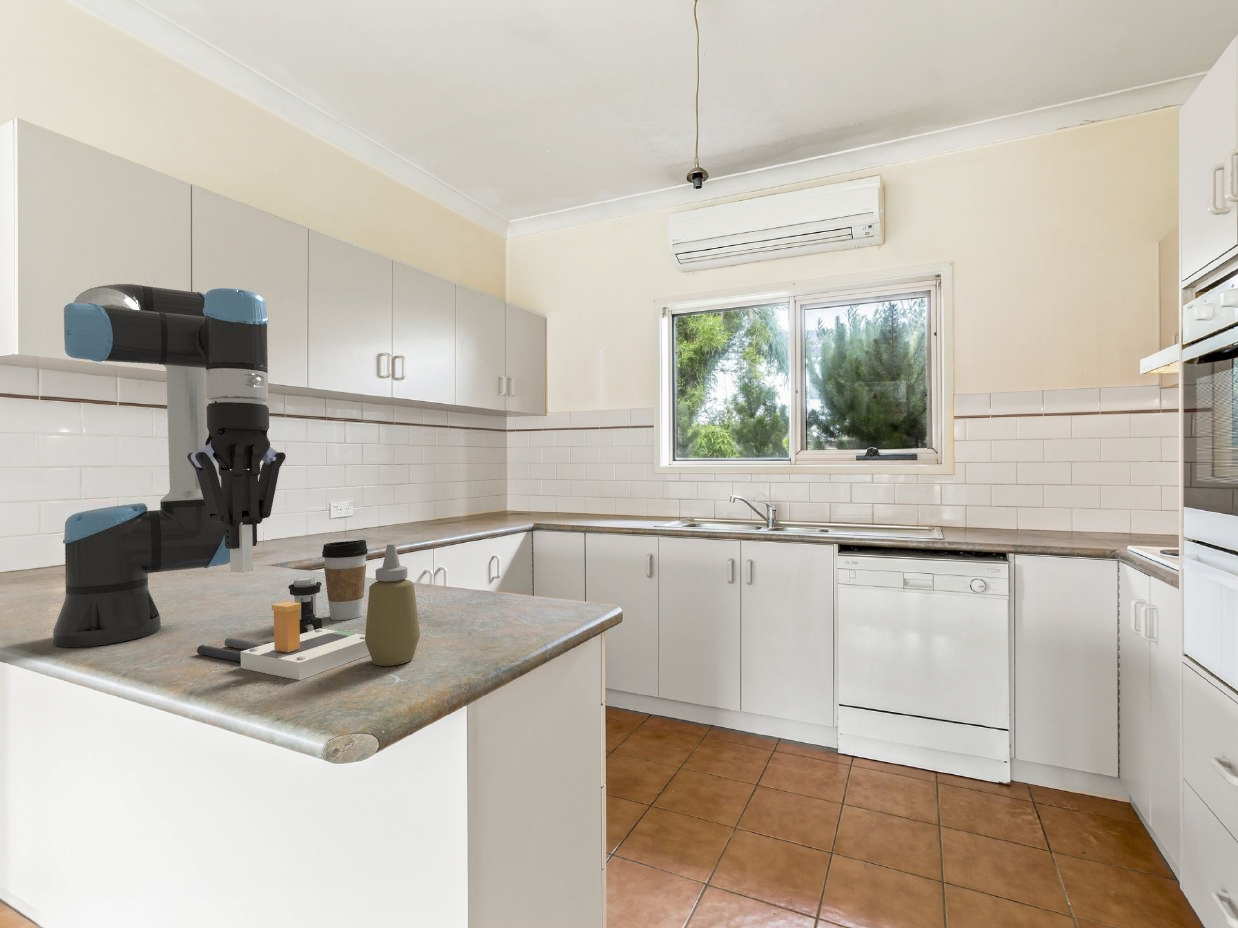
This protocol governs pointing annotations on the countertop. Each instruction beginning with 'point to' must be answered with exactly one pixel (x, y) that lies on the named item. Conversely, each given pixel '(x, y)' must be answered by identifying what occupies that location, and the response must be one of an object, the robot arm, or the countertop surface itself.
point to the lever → (286, 626)
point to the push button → (306, 602)
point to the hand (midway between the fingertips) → (241, 570)
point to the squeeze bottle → (392, 614)
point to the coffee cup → (345, 578)
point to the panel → (307, 654)
